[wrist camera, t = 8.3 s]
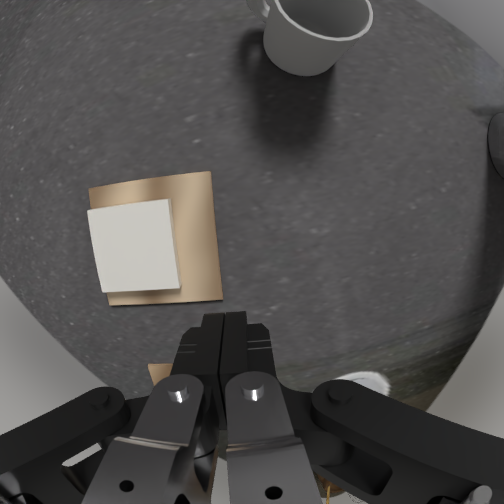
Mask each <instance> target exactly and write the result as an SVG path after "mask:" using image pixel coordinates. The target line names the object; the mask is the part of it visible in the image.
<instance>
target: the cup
mask: <svg viewBox="0 0 504 504" xmlns="http://www.w3.org/2000/svg"><path fill="white" fill-rule="evenodd" d="M246 2H247V5H248V6H249V8H250V10H251V11H252V12H253V13H254V14H255V16H257V17H258V18H259V19H261V20H262V21H263V22H265V23H266V26H265V31H264V35H263V42H264V49H265V51H266V54H267V56H268V57H269V58H270V60H271V61H272V62H273V63H274V64H275V65H276V66H278V67H279V68H280V69H282V70H284V71H286V72H288V73H291V74H294V75H298V76H314V75H318V74H321V73H323V72H325V71H327V70H328V69H329V68H330V67H331V66H332V65H334V64H335V63H336V62H337V61H338V60H339V59H340V58H341V57H342V56H343V55H344V54H345V53H346V52H347V51H348V50H349V49H350V48H351V47H352V46H353V45H354V44H355V43H356V42H357V41H358V40H359V39H360V38H361V37H362V36H363V35H364V34H365V33H366V32H367V31H368V30H369V28H370V26H371V24H372V19H373V12H372V8H371V5H370V3H369V1H368V0H272V1H271V5H270V7H269V6H268V5H267V3H266V1H265V0H246Z"/></svg>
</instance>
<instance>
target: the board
mask: <svg viewBox="0 0 504 504" xmlns="http://www.w3.org/2000/svg"><path fill="white" fill-rule="evenodd" d="M89 197H90V205H91V209H95V208H102V207H108V206H115V205H122V204H129V203H136V202H144V201H151V200H160V199H168V198H171V204H172V214H173V222H174V231H175V239H176V246H177V254H178V261H179V268H180V275H181V281H182V284H181V286H180V288H174V289H158V290H141V291H121V292H106V293H107V297H108V301H109V305H133V304H157V303H176V302H193V301H208V300H222V299H223V291H222V282H221V273H220V264H219V254H218V244H217V234H216V224H215V213H214V202H213V190H212V178H211V171H207V172H198V173H188V174H180V175H172V176H164V177H156V178H149V179H142V180H136V181H129V182H123V183H117V184H111V185H106V186H100V187H95V188H89Z"/></svg>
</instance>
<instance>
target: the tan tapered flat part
mask: <svg viewBox="0 0 504 504" xmlns="http://www.w3.org/2000/svg"><path fill="white" fill-rule="evenodd" d="M172 366H173V364H148V368H149V371H150V374H151V377H152V380H153V383H154V386H155V385H156V384H157V383H158V382H159V381H160V380H162V379H163V378H165V377H168V376H169V375H170V372H171V369H172Z"/></svg>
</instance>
